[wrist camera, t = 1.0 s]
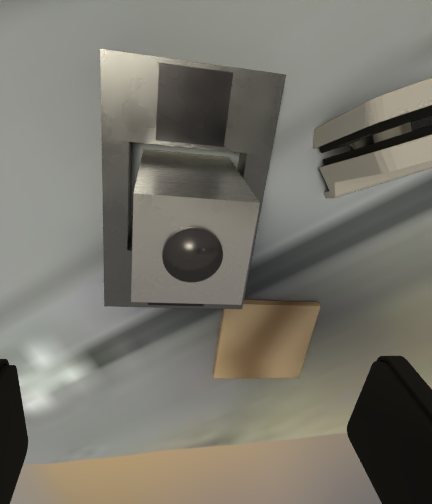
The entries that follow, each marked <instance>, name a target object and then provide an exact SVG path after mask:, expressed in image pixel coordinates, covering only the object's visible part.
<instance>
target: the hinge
mask: <svg viewBox="0 0 432 504" xmlns="http://www.w3.org/2000/svg"><path fill="white" fill-rule="evenodd" d="M431 115H432V78H429V79H427V80H424V81H421V82H418V83H415V84H412V85H410V86H407V87H404V88H401V89H398V90H395V91H392V92H390V93H387V94H384V95H381V96H379V97H376V98H374V99H372V100H369V101H367V102H365V103H363V104H361V105H359V106H358V107H356V108H354V109H352V110H350V111H348V112H346V113H344V114H342V115H341V116H339V117H337V118H335V119H333V120H331V121H329V122H327V123H326V124H324V125H322V126H320V127H318V128H316V129H314V149H315V148H318V147H320V150H321V153H323V152H326V151H329V150H332V149H336V148H339V147H342V146H345V145H348V144H349V145H350V146H351V147H352V148H353V149H354V150H352V151H349V152H345V153H342V154H339V155H336V156H333V157H330V158H327V159H324V160H323V161H324V165H325V166H323V167H320V168H319V169H320V171H321V173H322V175H323V177H324V180H325V182H326V184H327V186H328V188H329V191H326V192H324V195H325V198H336V197H340V196H343V195H346V194H349V193H353V192H356V191H359V190H362V189H365V188H369V187H372V186H375V185H378V184H382V183H385V182H388V181H391V180H395V179H398V178H401V177H404V176H407V175H411V174H414V173H417V172H420V171H424V170H427V169H430V168H432V125H430V126H427V127H424V128H421V129H418V130H414V131H412V129H411V122H412V121H415V120H418V119H421V118H424V117H428V116H431Z"/></svg>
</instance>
